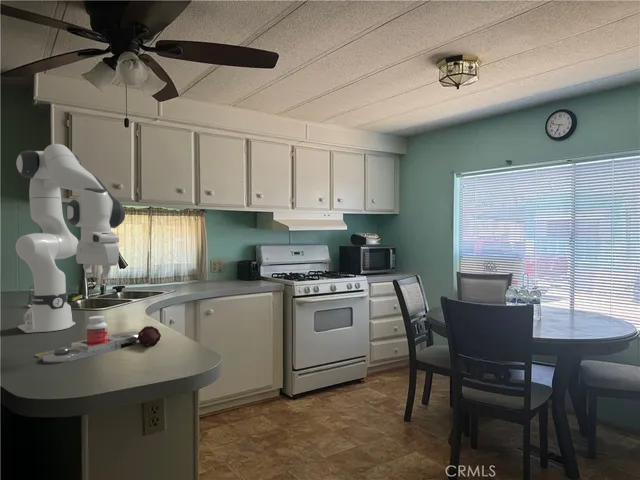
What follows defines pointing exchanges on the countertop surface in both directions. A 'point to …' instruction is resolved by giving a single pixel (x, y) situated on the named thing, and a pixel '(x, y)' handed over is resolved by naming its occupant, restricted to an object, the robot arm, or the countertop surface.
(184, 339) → the countertop surface
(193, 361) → the countertop surface
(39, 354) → the link plate
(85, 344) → the flat tray with frame
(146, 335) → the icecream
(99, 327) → the pill bottle
